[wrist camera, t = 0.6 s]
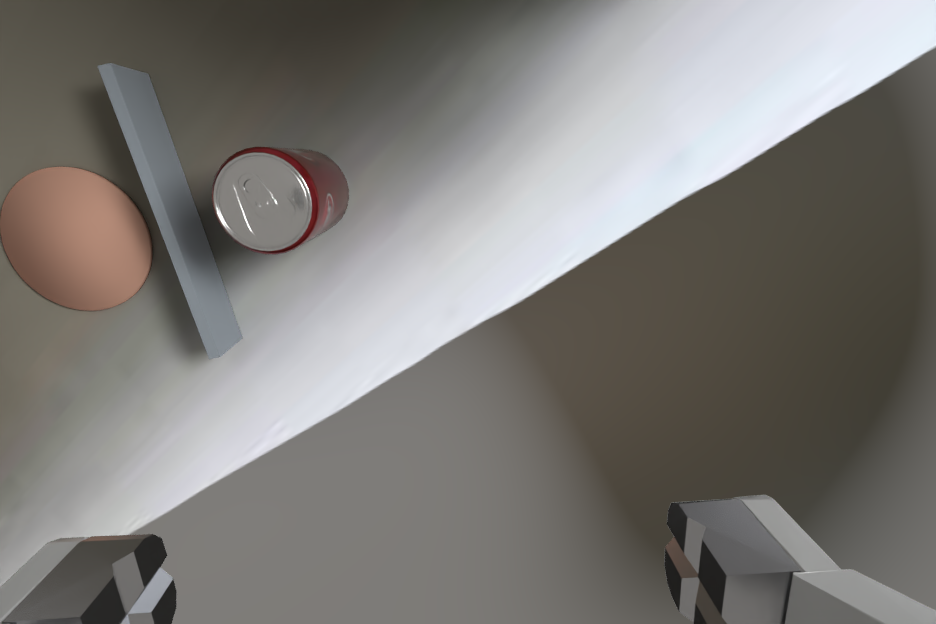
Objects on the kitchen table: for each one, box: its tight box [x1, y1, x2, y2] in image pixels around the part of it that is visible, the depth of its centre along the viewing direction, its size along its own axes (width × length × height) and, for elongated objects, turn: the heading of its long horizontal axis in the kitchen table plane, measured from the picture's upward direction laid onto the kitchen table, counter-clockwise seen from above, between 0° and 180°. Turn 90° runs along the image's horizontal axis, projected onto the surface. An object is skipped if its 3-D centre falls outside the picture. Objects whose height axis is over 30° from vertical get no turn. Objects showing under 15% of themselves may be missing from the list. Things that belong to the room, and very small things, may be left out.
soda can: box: [212, 147, 349, 254], centre depth 40 cm, size 7×7×12 cm
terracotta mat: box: [0, 167, 153, 311], centre depth 47 cm, size 13×13×1 cm
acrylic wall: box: [98, 63, 242, 359], centre depth 44 cm, size 24×1×5 cm, turn 12°
